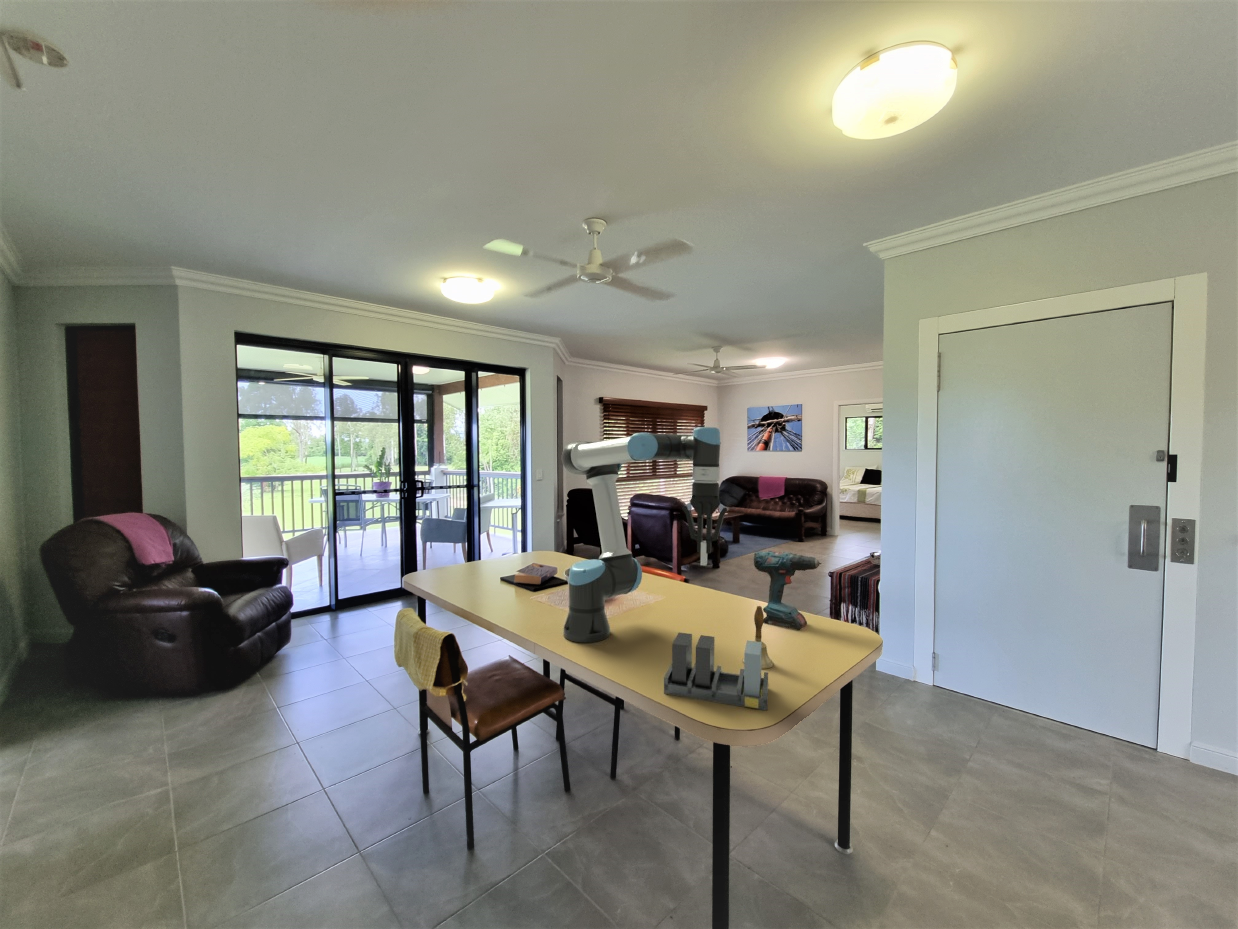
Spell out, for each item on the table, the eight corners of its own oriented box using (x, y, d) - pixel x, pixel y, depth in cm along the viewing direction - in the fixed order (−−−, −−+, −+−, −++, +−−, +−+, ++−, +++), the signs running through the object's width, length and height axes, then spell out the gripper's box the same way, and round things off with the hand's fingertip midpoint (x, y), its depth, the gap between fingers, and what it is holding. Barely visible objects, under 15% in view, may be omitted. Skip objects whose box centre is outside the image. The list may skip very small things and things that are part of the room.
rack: (663, 694, 117) (663, 646, 117) (673, 674, 128) (673, 629, 128) (766, 712, 110) (767, 659, 109) (768, 688, 121) (768, 641, 120)
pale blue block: (743, 699, 113) (744, 652, 113) (746, 683, 121) (747, 640, 121) (759, 701, 112) (759, 654, 112) (761, 686, 120) (761, 642, 119)
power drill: (817, 635, 157) (818, 559, 156) (749, 620, 171) (750, 550, 170) (824, 627, 164) (825, 554, 163) (759, 613, 178) (759, 546, 177)
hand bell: (750, 654, 142) (750, 600, 141) (777, 662, 136) (778, 606, 136) (737, 663, 135) (738, 607, 135) (766, 672, 130) (766, 613, 130)
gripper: (680, 481, 135) (678, 565, 135) (727, 483, 130) (725, 569, 131) (685, 480, 142) (683, 559, 142) (730, 481, 137) (728, 563, 138)
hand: (703, 564), depth 137 cm, fingers closed
